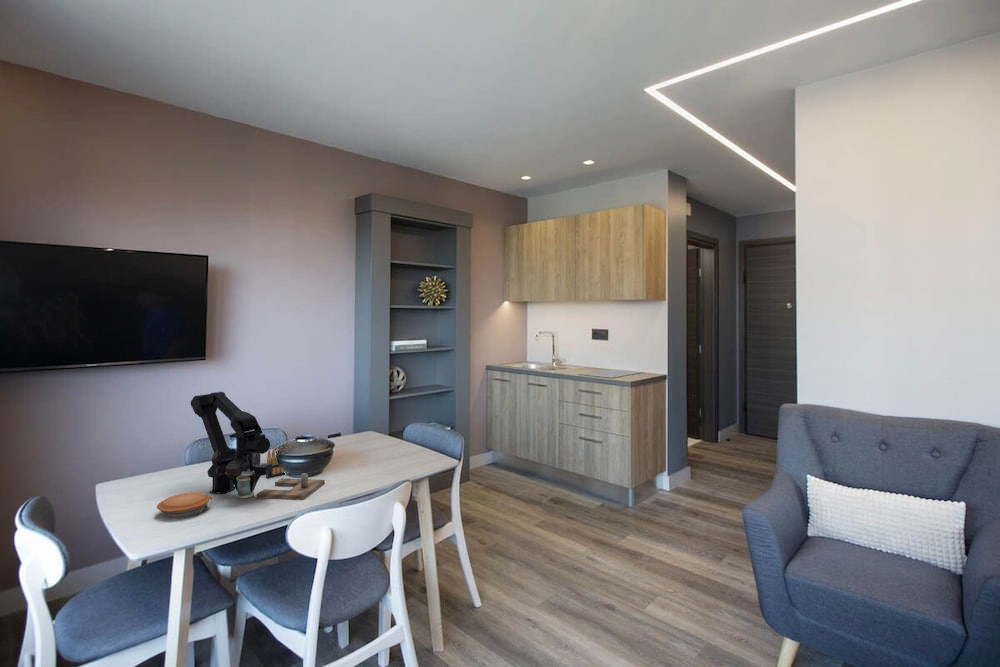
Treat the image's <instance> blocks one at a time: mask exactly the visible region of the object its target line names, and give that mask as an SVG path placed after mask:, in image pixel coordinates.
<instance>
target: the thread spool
mask: <svg viewBox="0 0 1000 667" xmlns="http://www.w3.org/2000/svg"><path fill="white" fill-rule="evenodd" d="M251 474H252V473H245V474H241V475H239V476H237V477H236V480H237V491H236V492H237V493H236V495H235V496H236V498H237V499H242V500H243V499H248V498H251V497H254V494H255V492H254V491H253V492H251V490H250V482H251V479H250V477H249V476H250V475H251Z"/></svg>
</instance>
